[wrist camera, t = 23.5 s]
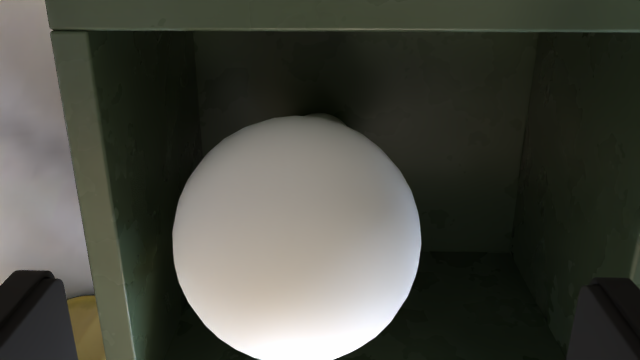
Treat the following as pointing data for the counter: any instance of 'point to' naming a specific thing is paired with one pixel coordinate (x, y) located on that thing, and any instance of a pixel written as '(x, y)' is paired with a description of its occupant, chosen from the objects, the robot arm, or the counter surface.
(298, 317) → the lightbulb
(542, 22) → the bin
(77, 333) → the vase
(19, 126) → the counter surface
